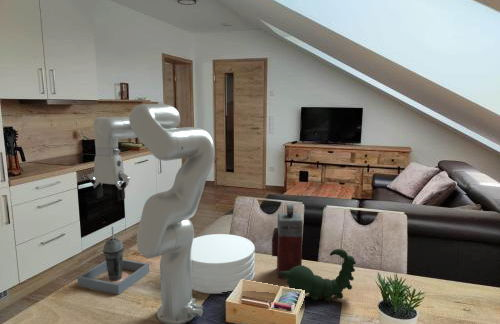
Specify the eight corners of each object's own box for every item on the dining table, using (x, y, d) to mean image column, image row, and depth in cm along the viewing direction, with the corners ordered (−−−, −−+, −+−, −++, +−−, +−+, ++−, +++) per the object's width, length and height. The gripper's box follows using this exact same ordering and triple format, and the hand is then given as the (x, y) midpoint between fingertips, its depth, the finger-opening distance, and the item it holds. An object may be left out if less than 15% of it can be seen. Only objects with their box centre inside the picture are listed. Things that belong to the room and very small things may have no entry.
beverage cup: (104, 284, 132) (100, 232, 129) (106, 275, 139) (102, 225, 136) (125, 281, 134) (121, 230, 131) (126, 272, 141) (123, 223, 138)
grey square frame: (149, 272, 142) (149, 263, 142) (118, 294, 125) (118, 285, 125) (112, 265, 148) (111, 257, 147) (78, 286, 131) (77, 277, 131)
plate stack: (257, 261, 153) (257, 235, 151) (250, 296, 125) (250, 265, 123) (192, 258, 155) (191, 232, 154) (172, 291, 128) (171, 261, 126)
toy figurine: (345, 295, 129) (275, 287, 129) (353, 245, 125) (281, 237, 126) (351, 310, 119) (276, 302, 120) (359, 257, 116) (282, 248, 117)
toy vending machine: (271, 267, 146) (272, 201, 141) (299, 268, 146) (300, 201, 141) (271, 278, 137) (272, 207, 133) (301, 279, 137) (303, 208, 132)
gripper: (134, 151, 129) (136, 198, 132) (95, 149, 135) (98, 194, 138) (120, 154, 122) (123, 203, 125) (80, 152, 128) (83, 199, 131)
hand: (110, 198), depth 131 cm, fingers open, 9 cm apart
